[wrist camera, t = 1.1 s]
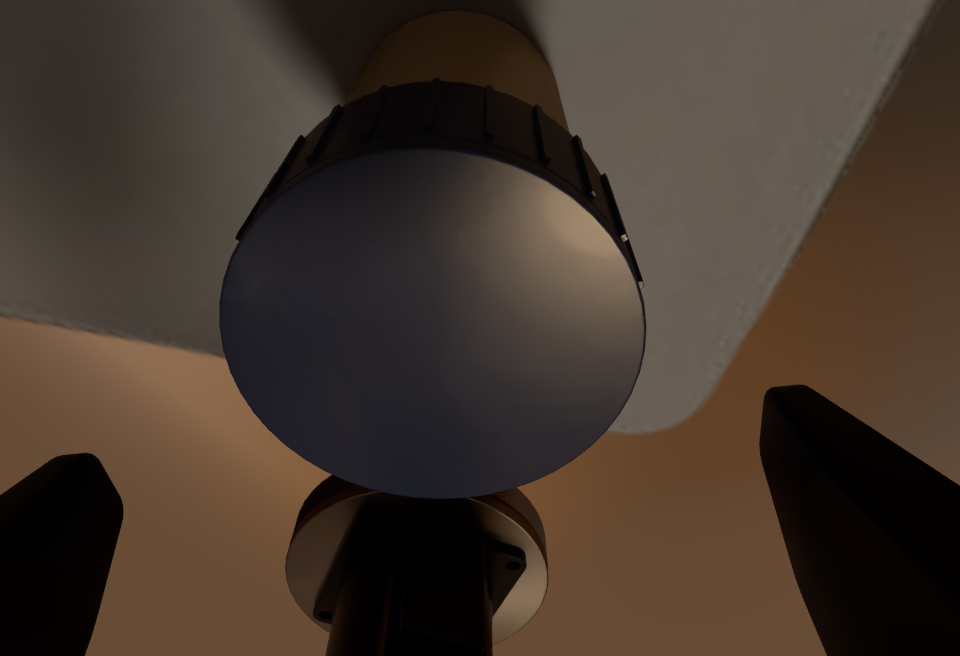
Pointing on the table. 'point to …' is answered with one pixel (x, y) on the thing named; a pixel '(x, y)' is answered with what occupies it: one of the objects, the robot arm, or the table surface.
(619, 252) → the jar lid
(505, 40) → the jar
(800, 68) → the table surface
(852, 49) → the table surface
